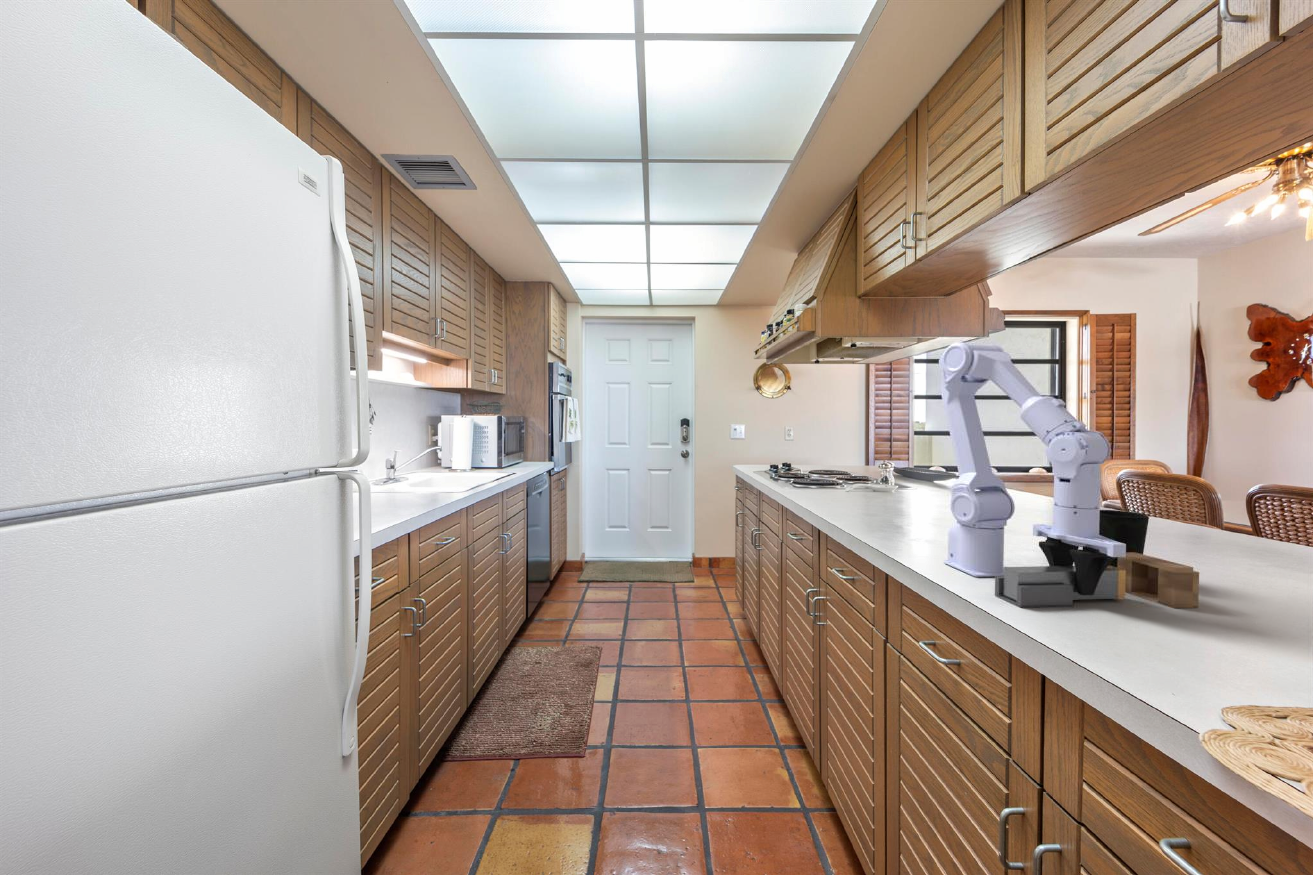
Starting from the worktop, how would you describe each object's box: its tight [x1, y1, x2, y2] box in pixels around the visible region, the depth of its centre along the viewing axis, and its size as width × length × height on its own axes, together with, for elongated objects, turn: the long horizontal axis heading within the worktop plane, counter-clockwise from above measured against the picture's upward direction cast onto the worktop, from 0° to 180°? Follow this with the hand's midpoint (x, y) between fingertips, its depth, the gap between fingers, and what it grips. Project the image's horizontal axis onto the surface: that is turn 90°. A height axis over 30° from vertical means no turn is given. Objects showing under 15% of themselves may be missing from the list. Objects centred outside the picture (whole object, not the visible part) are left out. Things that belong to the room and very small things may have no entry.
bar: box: [1003, 565, 1126, 601], centre depth 81 cm, size 3×18×5 cm, turn 94°
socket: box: [1117, 552, 1200, 609], centre depth 82 cm, size 9×4×6 cm, turn 4°
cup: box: [1099, 509, 1150, 567], centre depth 92 cm, size 8×8×12 cm
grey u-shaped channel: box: [994, 576, 1073, 609], centre depth 81 cm, size 5×8×3 cm, turn 94°
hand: (1073, 589), depth 81 cm, fingers open, 4 cm apart
